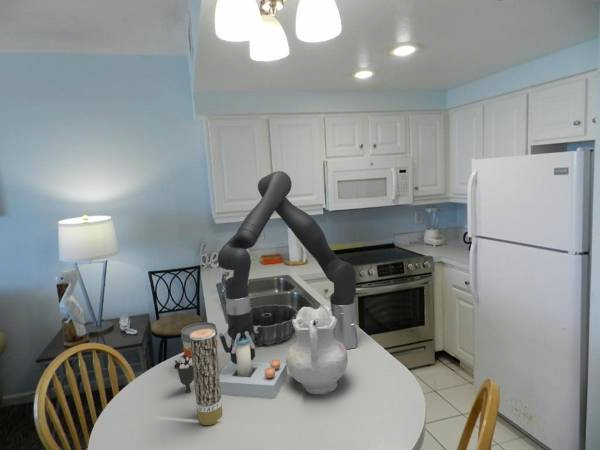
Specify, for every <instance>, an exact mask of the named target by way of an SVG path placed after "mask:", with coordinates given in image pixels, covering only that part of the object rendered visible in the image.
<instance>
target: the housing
mask: <svg viewBox="0 0 600 450" xmlns="http://www.w3.org/2000/svg"><path fill="white" fill-rule="evenodd" d="M251 362H252V373H253V375H252V376H251V377H237V371H236V364H234V363H232V361H231V360H229V362H228V363H227V364H226V365H225V366H224V367H223V369H221V371H219V379H220V390H221V395H225V396H237V397H238V396H239V397H250V398H251V397H253V398H264V399H265V398H267V399H276V397H277V395H278V393H279V391H280V390H281V388H282V386H283V384H284V382H285V381H286V378H287V377H288V367H287V363H281V362H280V368H278V369H277V371H275V376H274V377H272V379H269V378H268V377H265V371H264V370H265V369H266V368H270V362H264V361H263V362H262V361H259V362H258V361H251Z"/></svg>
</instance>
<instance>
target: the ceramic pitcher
mask: <svg viewBox="0 0 600 450" xmlns="http://www.w3.org/2000/svg"><path fill="white" fill-rule="evenodd" d="M336 322H337V319H336V318H335V317H334V316H333V315H332V311H331V307H330V306H328V305H327V304H319V307H318V308H316V309H314V308H312V307H310V306H302V307H301V308H300V309H299V311H298V314H297V316H296V319H293V320H292V324H293V326H294V328H295V332H296V335H297V336H296V337H297V338H296V341H295V342H293V344H292V345H290V346H289V348H288V350H287V352H286V355H285V362H286V363H285V364H287V371H288V372H289V373H290V375H291V377H292V378H293V379H294V380H295V381H296V382H298V383H300V384H302V386H303V387H304V388H305V389H304V391H305V392H306V393H308V394H311V395H327V394H329V393H331V392H333V391H334V390H336V389H337V388H338V382H337V381H339V380H340V379H341V377H343V375H344V373H345V372H346V370H347V367H348V363H349V359H348V358H349V357H348V349H346V348H345V347H344V345H343V344H342V343H341V342H339V341H337V340H336V339H335V338H334V337H333V331H334V327H335V325H336Z"/></svg>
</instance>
